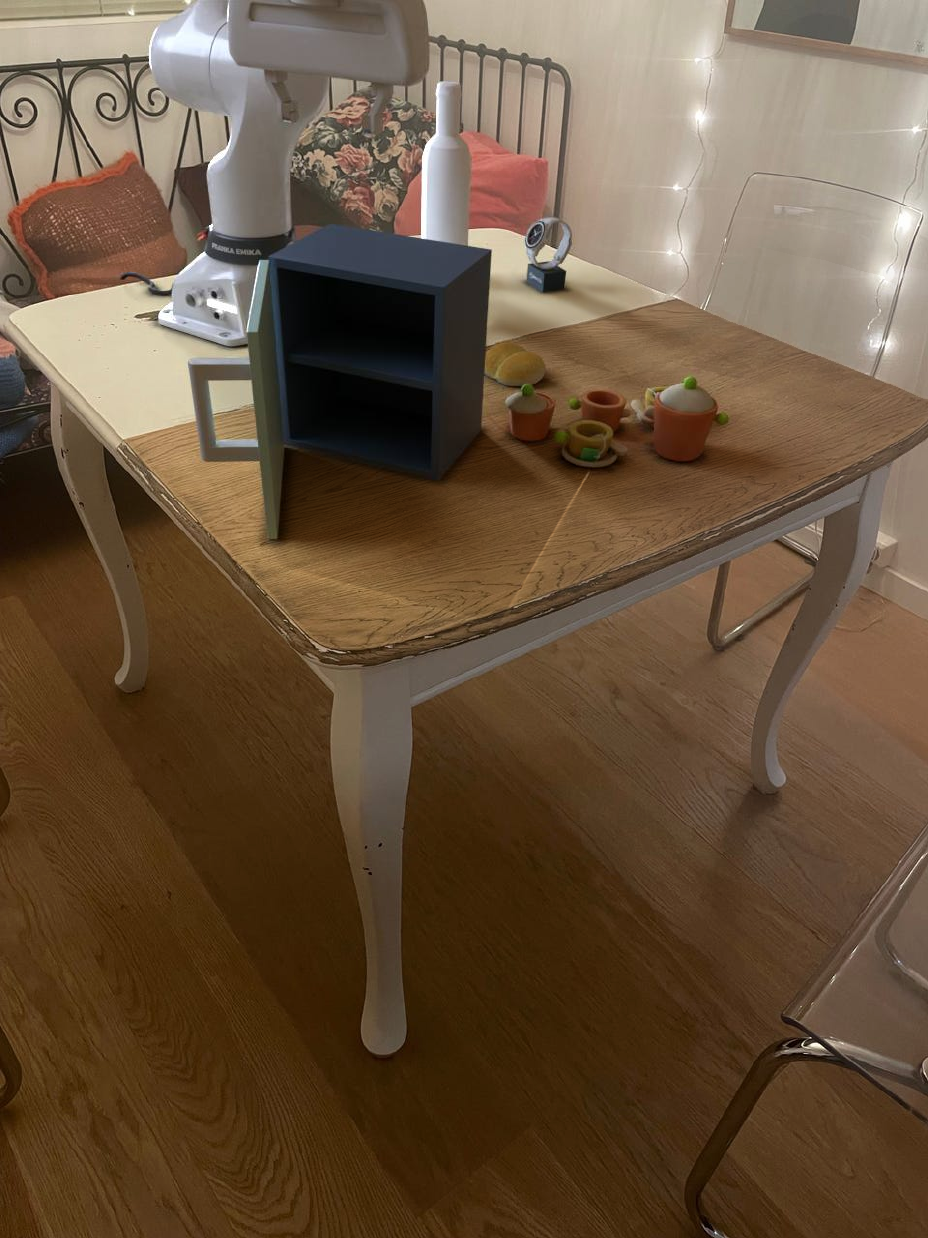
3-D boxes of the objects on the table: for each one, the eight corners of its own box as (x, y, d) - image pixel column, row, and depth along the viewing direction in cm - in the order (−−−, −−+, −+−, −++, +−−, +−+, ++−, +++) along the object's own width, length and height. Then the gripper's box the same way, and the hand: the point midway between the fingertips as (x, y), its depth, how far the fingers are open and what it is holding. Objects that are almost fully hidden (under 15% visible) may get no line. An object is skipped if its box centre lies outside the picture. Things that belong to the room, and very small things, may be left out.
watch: (516, 283, 162) (521, 216, 155) (556, 278, 165) (562, 212, 158) (532, 293, 158) (538, 225, 151) (573, 288, 161) (580, 221, 154)
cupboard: (438, 481, 107) (444, 287, 93) (283, 445, 112) (267, 256, 98) (481, 430, 117) (491, 249, 104) (337, 399, 122) (330, 223, 109)
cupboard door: (209, 541, 95) (178, 331, 82) (226, 447, 111) (202, 259, 97) (277, 539, 96) (257, 331, 82) (284, 446, 111) (269, 259, 98)
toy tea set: (679, 406, 125) (693, 336, 119) (733, 462, 113) (752, 387, 108) (491, 421, 119) (496, 347, 114) (528, 481, 108) (535, 402, 102)
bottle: (476, 283, 161) (486, 84, 142) (445, 294, 156) (451, 88, 137) (441, 272, 165) (447, 76, 146) (410, 282, 160) (412, 81, 141)
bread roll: (514, 393, 126) (517, 365, 124) (471, 371, 132) (472, 343, 129) (558, 378, 131) (561, 351, 128) (514, 357, 136) (516, 330, 133)
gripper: (204, -49, 86) (223, 120, 94) (407, -32, 80) (408, 146, 89) (243, -52, 90) (257, 109, 99) (437, -36, 84) (435, 133, 93)
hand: (330, 127), depth 94 cm, fingers open, 8 cm apart
